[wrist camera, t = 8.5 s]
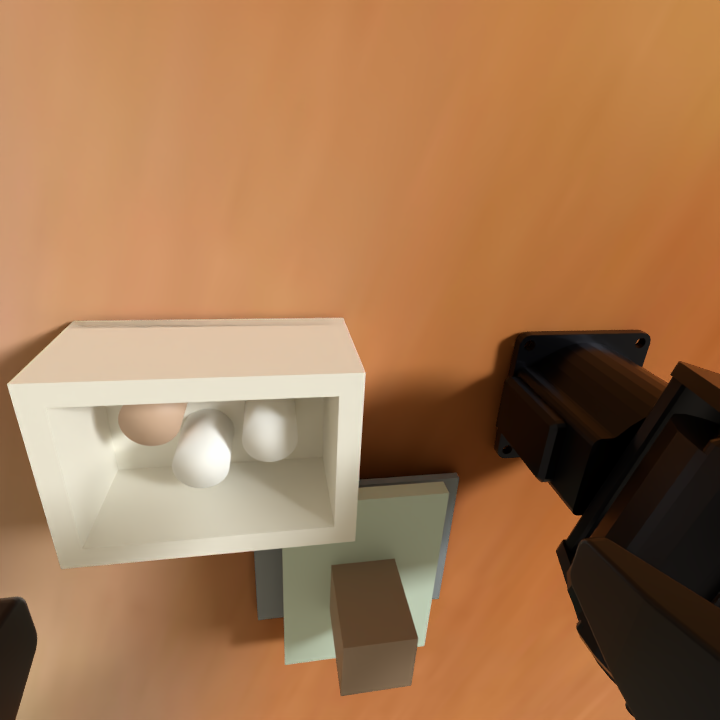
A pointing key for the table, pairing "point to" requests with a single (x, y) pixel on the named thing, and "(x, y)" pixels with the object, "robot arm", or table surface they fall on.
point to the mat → (271, 559)
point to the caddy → (193, 436)
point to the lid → (368, 589)
